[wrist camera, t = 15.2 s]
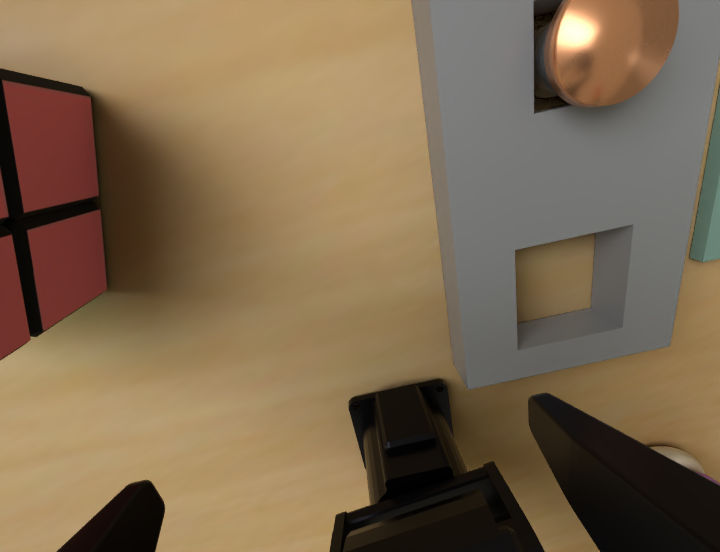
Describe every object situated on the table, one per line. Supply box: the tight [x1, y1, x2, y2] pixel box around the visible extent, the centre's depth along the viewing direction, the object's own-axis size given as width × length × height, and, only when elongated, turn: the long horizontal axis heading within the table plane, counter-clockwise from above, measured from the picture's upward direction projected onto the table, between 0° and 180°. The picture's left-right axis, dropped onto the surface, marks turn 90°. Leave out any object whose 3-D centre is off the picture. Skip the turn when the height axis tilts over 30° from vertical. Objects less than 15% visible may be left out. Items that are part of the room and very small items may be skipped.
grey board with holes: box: [412, 0, 720, 390], centre depth 17 cm, size 20×12×2 cm, turn 11°
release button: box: [534, 0, 679, 108], centre depth 14 cm, size 4×4×4 cm
